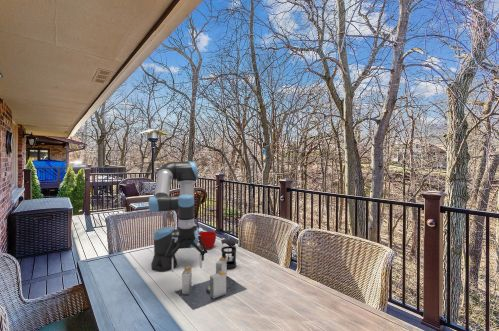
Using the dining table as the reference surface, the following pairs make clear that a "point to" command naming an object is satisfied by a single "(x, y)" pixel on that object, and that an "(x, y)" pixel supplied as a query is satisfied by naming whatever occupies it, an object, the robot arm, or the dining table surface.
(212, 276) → the banded metal block
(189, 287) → the orange and grey block
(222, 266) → the white yellow slab
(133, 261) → the dining table surface
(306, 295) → the dining table surface
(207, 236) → the ceramic cup
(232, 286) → the board
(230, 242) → the french press
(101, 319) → the dining table surface
